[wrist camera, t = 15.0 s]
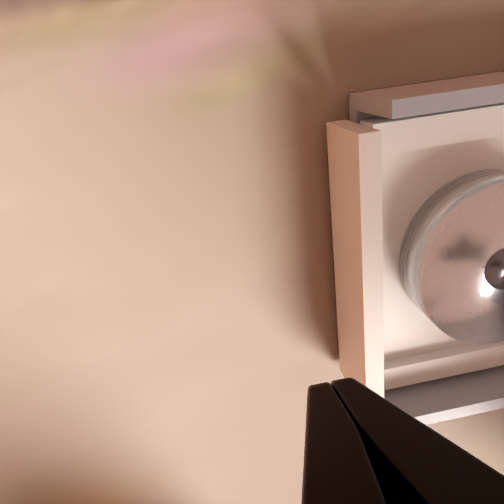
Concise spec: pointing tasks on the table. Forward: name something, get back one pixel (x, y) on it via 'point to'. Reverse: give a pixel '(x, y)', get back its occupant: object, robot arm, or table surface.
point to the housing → (419, 103)
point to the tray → (399, 238)
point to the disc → (459, 258)
